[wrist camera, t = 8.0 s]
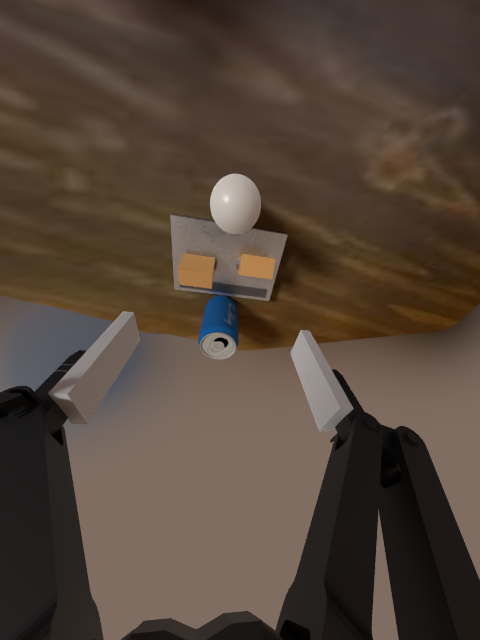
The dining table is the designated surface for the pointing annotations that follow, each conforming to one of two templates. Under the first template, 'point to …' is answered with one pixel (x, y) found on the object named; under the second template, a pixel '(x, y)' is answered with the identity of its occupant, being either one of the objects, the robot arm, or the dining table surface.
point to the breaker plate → (226, 255)
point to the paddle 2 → (256, 266)
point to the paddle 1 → (196, 270)
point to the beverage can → (219, 328)
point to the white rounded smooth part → (235, 204)
